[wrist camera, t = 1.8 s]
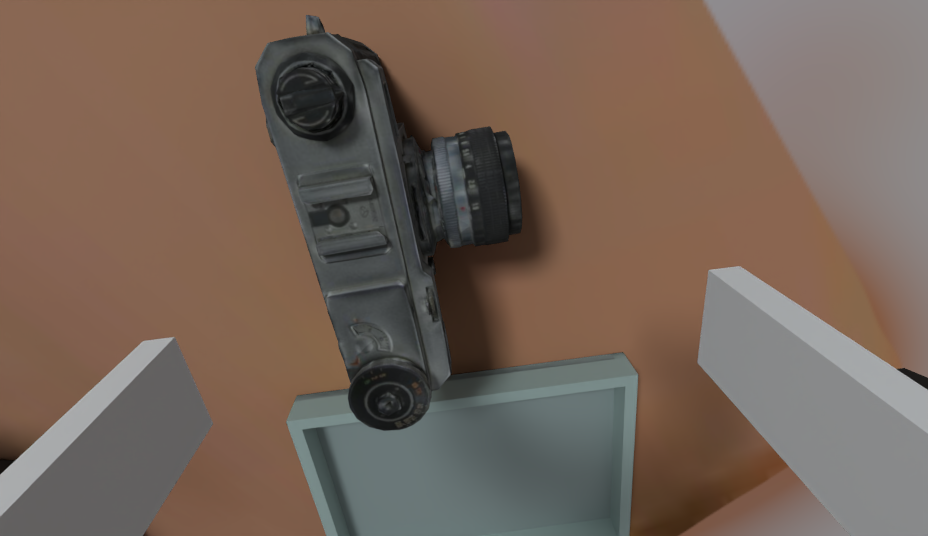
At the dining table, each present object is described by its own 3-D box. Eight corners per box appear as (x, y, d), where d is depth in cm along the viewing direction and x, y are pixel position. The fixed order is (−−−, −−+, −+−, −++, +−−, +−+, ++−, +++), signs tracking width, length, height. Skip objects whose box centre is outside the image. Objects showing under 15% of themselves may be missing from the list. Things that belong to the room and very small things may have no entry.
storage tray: (349, 553, 38) (343, 584, 35) (296, 395, 31) (286, 421, 29) (616, 516, 38) (628, 545, 36) (623, 352, 31) (638, 374, 29)
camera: (522, 312, 30) (562, 422, 20) (383, 338, 30) (362, 458, 21) (479, 5, 22) (511, -39, 13) (296, 40, 22) (203, 21, 13)
